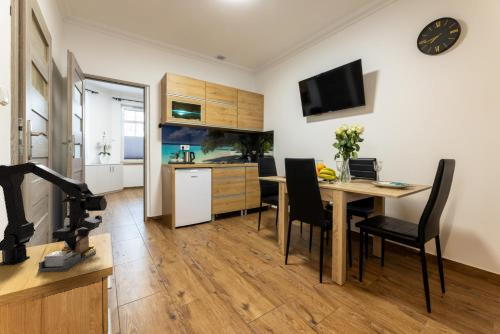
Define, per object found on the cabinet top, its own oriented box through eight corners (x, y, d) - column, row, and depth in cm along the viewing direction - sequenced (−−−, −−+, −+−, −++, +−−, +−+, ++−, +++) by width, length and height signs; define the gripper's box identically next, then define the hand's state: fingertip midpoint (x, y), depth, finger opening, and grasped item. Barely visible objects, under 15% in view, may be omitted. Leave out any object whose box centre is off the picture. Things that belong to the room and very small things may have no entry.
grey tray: (38, 272, 78) (37, 262, 78) (73, 252, 95) (73, 245, 95) (65, 271, 79) (65, 262, 79) (96, 252, 95) (96, 244, 95)
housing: (68, 252, 89) (67, 240, 88) (77, 247, 94) (77, 236, 93) (80, 252, 89) (79, 240, 89) (88, 247, 94) (88, 236, 94)
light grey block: (44, 266, 79) (44, 256, 79) (57, 260, 85) (56, 250, 84) (63, 266, 80) (63, 255, 79) (74, 259, 85) (74, 250, 85)
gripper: (80, 217, 82) (81, 257, 82) (110, 206, 100) (111, 239, 101) (50, 217, 81) (51, 257, 82) (86, 207, 100) (87, 239, 100)
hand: (78, 247), depth 91 cm, fingers closed on housing, 5 cm apart
